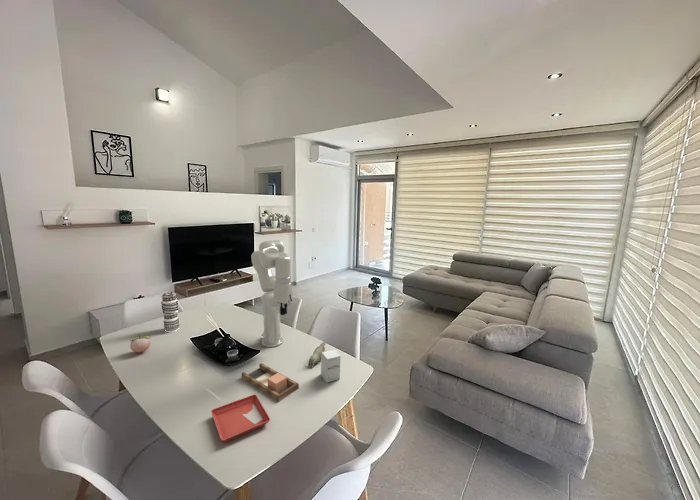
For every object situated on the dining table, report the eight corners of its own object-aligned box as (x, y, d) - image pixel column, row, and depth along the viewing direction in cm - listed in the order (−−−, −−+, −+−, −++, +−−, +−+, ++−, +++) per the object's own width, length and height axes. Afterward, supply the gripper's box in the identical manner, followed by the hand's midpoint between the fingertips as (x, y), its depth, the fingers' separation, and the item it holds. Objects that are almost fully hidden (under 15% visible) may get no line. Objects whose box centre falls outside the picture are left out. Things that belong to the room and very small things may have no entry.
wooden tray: (241, 378, 143) (241, 373, 143) (261, 368, 152) (261, 362, 152) (279, 402, 127) (279, 396, 127) (298, 389, 136) (298, 383, 136)
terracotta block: (267, 388, 136) (267, 378, 135) (278, 382, 140) (277, 372, 139) (276, 393, 132) (276, 383, 131) (286, 387, 137) (286, 377, 136)
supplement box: (326, 383, 141) (326, 359, 139) (320, 375, 148) (320, 351, 146) (340, 379, 145) (340, 355, 142) (334, 371, 151) (334, 348, 149)
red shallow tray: (271, 426, 115) (271, 419, 114) (221, 448, 104) (221, 440, 104) (255, 400, 129) (255, 393, 128) (211, 417, 119) (210, 410, 118)
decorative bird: (305, 367, 154) (305, 354, 153) (319, 352, 169) (320, 340, 168) (315, 370, 152) (315, 356, 151) (328, 355, 167) (328, 342, 166)
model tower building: (174, 333, 187) (171, 295, 183) (160, 332, 188) (156, 295, 183) (183, 327, 196) (180, 290, 192) (169, 326, 197) (166, 290, 192)
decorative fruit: (131, 358, 158) (129, 341, 156) (130, 352, 164) (128, 335, 162) (152, 353, 164) (151, 336, 162) (150, 347, 170) (148, 330, 168)
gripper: (267, 278, 152) (268, 312, 155) (287, 284, 143) (287, 320, 146) (279, 276, 158) (279, 308, 161) (298, 281, 149) (299, 315, 152)
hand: (283, 314), depth 154 cm, fingers closed
